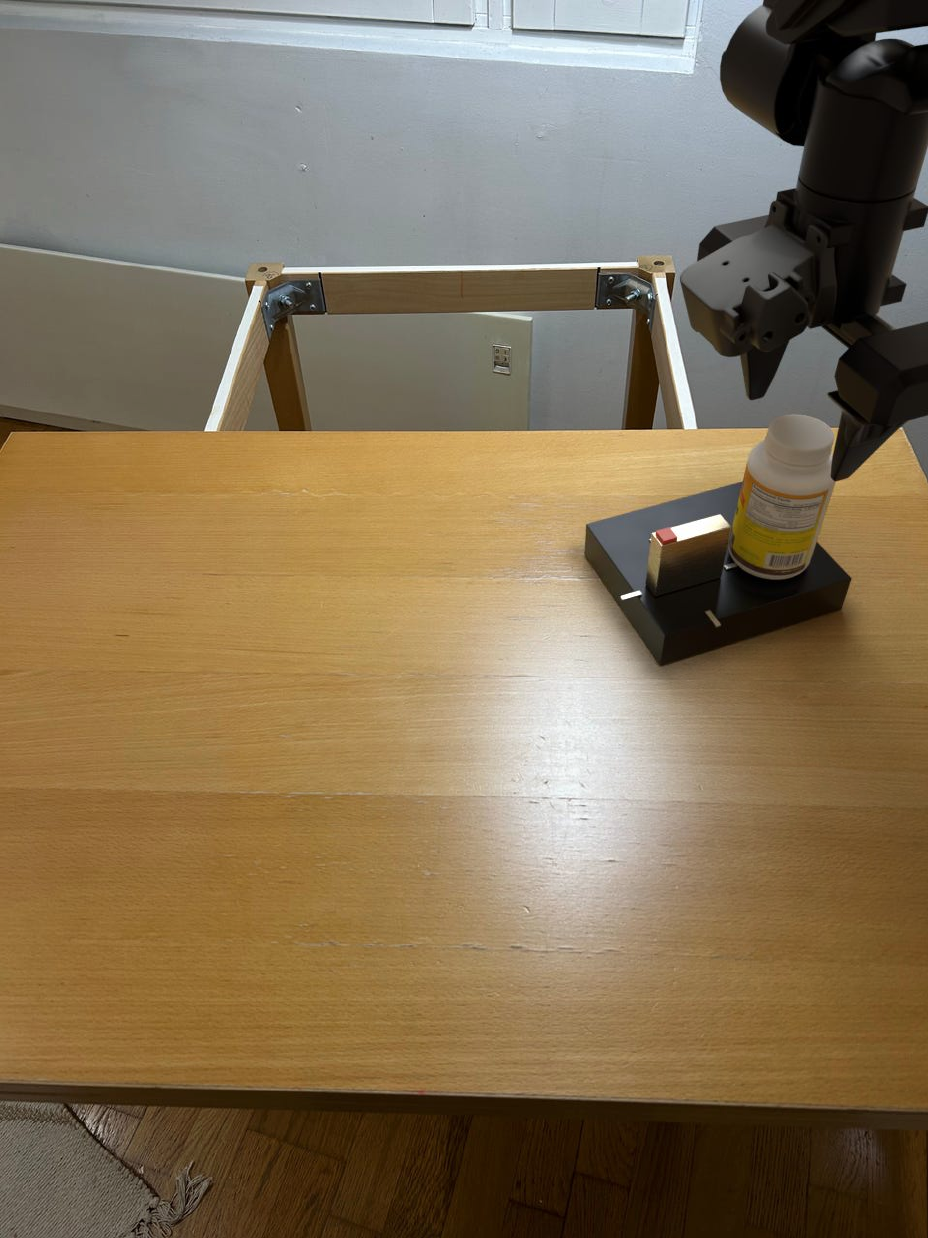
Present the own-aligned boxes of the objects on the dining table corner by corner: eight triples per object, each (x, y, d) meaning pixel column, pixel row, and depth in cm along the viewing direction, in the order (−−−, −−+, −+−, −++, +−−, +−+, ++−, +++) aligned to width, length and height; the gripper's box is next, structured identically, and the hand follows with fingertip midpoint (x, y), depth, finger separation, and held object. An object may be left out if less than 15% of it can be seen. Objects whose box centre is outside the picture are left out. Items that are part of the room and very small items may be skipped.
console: (847, 615, 68) (858, 582, 65) (649, 677, 64) (654, 644, 62) (749, 508, 76) (756, 475, 74) (570, 558, 73) (571, 525, 71)
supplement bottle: (757, 520, 70) (789, 396, 63) (825, 557, 67) (866, 431, 60) (709, 556, 68) (737, 430, 60) (778, 596, 65) (816, 469, 57)
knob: (711, 564, 67) (721, 510, 64) (721, 577, 66) (732, 523, 63) (645, 583, 66) (651, 530, 63) (654, 597, 65) (661, 543, 62)
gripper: (628, 142, 54) (610, 388, 65) (827, 293, 42) (762, 564, 53) (804, 110, 56) (757, 352, 68) (1042, 243, 44) (936, 513, 55)
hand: (795, 436), depth 61 cm, fingers open, 9 cm apart
